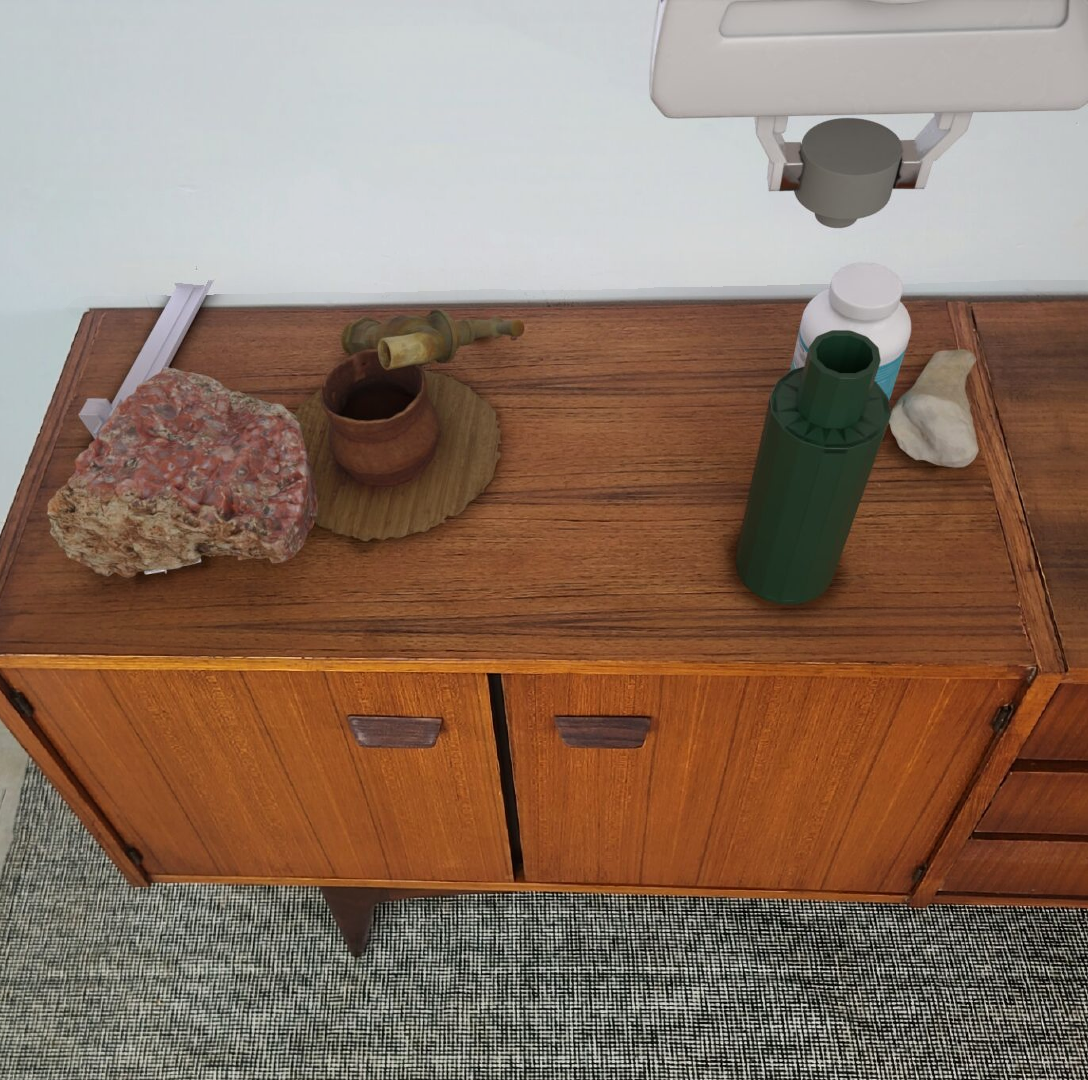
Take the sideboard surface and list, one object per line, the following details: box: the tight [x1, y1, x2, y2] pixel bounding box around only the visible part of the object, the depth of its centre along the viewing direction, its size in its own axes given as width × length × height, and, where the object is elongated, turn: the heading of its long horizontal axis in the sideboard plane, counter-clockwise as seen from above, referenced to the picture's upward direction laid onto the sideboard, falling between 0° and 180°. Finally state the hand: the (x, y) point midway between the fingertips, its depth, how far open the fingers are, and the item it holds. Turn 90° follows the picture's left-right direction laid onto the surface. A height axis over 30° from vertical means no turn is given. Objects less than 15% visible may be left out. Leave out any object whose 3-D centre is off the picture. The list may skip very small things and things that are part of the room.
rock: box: [46, 366, 318, 579], centre depth 77 cm, size 17×10×15 cm
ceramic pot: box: [294, 349, 502, 542], centre depth 81 cm, size 18×18×7 cm
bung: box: [793, 117, 903, 229], centre depth 54 cm, size 5×5×4 cm
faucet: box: [340, 308, 525, 370], centre depth 85 cm, size 15×4×15 cm
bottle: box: [735, 330, 892, 606], centre depth 68 cm, size 7×7×20 cm
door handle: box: [78, 266, 215, 440], centre depth 90 cm, size 21×3×3 cm
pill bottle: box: [789, 261, 912, 400], centre depth 77 cm, size 8×7×14 cm
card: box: [143, 557, 202, 575], centre depth 80 cm, size 9×3×1 cm, turn 111°
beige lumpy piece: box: [888, 348, 979, 468], centre depth 81 cm, size 11×6×5 cm, turn 167°
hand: (844, 183), depth 54 cm, fingers closed on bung, 5 cm apart
